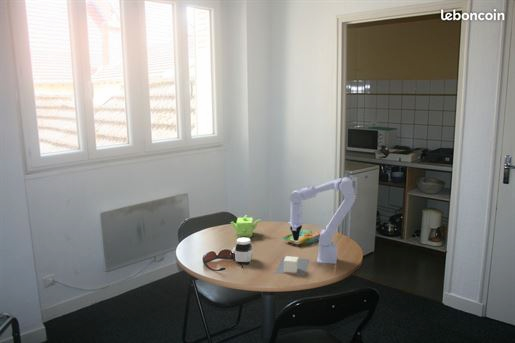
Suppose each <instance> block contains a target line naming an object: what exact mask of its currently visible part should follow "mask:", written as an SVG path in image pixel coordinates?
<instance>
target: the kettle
mask: <svg viewBox="0 0 515 343" xmlns="http://www.w3.org/2000/svg"><path fill="white" fill-rule="evenodd" d="M260 221H261V219H256V220H255V222H254V217H248V215H247V214H245V215H244V216H243V217H237V219H236V223H235V222H234V221H231V222H230V224H231V225H232V227H233V228H234V229H235V230H236V237H237V239H238V238H243V237H246V238H249V239H251V238H252V237H253V234H254V231H255V229H256V228H257V224H258V223H259V222H260Z"/></svg>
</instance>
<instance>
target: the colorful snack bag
mask: <svg viewBox="0 0 515 343" xmlns="http://www.w3.org/2000/svg"><path fill="white" fill-rule="evenodd" d="M319 237H320V233H318V232H316V231H312V230H310V229H303V230H302V229H301V230H300V234H299V239H298V241H296V240H294V239H293V234H292V233H290V234H286V235H283V236H282V237H281V239H282V240H284V241H287V242H288V243H291V244H294V245H296V246H299V247H301V246H304V245H307V244H310V243H314V242H317V241H319Z"/></svg>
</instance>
